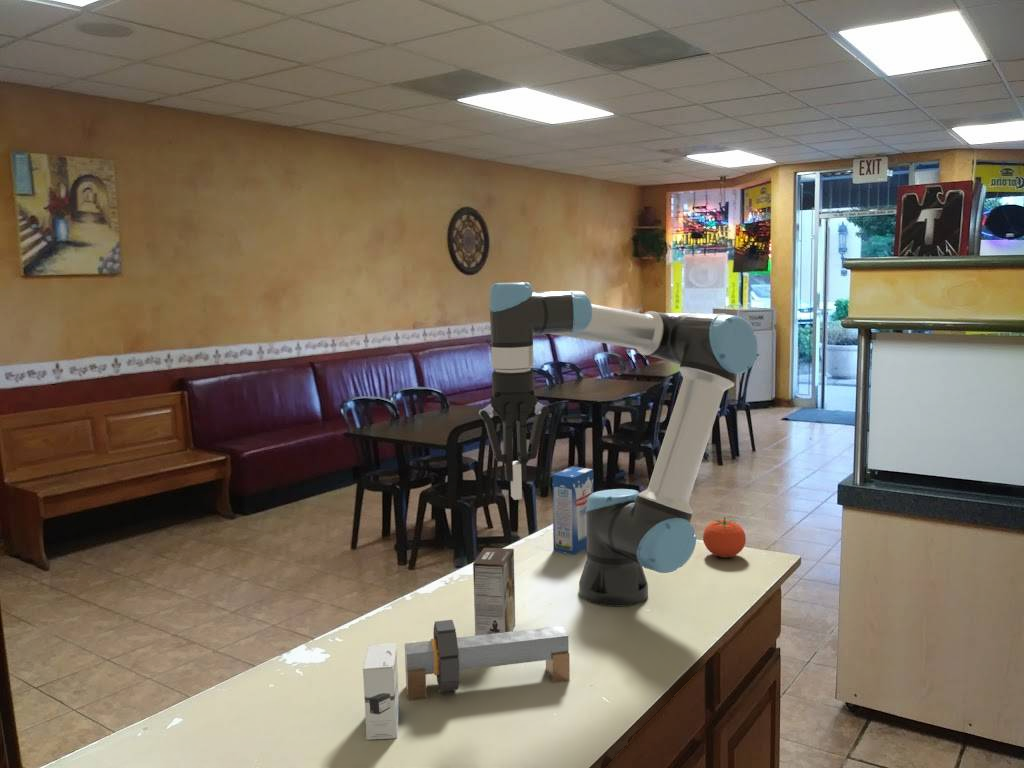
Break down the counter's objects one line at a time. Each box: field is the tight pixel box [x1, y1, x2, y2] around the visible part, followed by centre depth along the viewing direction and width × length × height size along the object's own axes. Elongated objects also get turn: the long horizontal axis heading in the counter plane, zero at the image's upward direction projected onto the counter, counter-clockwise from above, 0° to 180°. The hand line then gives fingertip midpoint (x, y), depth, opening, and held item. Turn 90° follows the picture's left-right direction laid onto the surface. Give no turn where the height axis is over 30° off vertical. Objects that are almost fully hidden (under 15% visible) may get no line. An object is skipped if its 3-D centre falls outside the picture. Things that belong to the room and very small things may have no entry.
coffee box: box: [472, 547, 516, 636], centre depth 158 cm, size 9×6×16 cm
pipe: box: [404, 625, 571, 701], centre depth 139 cm, size 28×5×8 cm, turn 102°
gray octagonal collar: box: [433, 619, 461, 693], centre depth 137 cm, size 3×11×11 cm, turn 12°
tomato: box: [702, 517, 747, 558], centre depth 198 cm, size 10×10×10 cm
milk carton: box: [552, 465, 594, 555], centre depth 206 cm, size 10×6×20 cm, turn 145°
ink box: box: [362, 642, 400, 741], centre depth 127 cm, size 8×5×12 cm, turn 5°
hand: (516, 497), depth 147 cm, fingers closed
